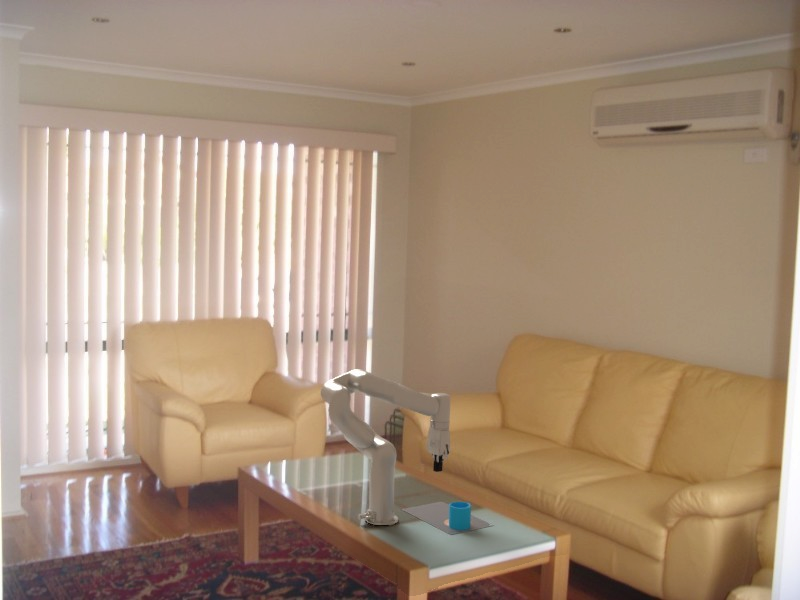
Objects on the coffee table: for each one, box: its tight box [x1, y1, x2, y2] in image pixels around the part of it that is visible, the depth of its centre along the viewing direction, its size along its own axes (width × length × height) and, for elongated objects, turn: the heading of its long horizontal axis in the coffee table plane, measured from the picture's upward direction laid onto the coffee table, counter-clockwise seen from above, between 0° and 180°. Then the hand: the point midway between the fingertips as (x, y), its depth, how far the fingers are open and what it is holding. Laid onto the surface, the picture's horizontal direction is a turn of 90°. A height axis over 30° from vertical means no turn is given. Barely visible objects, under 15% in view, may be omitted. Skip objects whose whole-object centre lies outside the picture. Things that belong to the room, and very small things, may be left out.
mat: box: [400, 500, 491, 536], centre depth 334 cm, size 20×34×1 cm, turn 33°
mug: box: [449, 501, 472, 530], centre depth 325 cm, size 12×8×8 cm
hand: (437, 471), depth 337 cm, fingers closed
